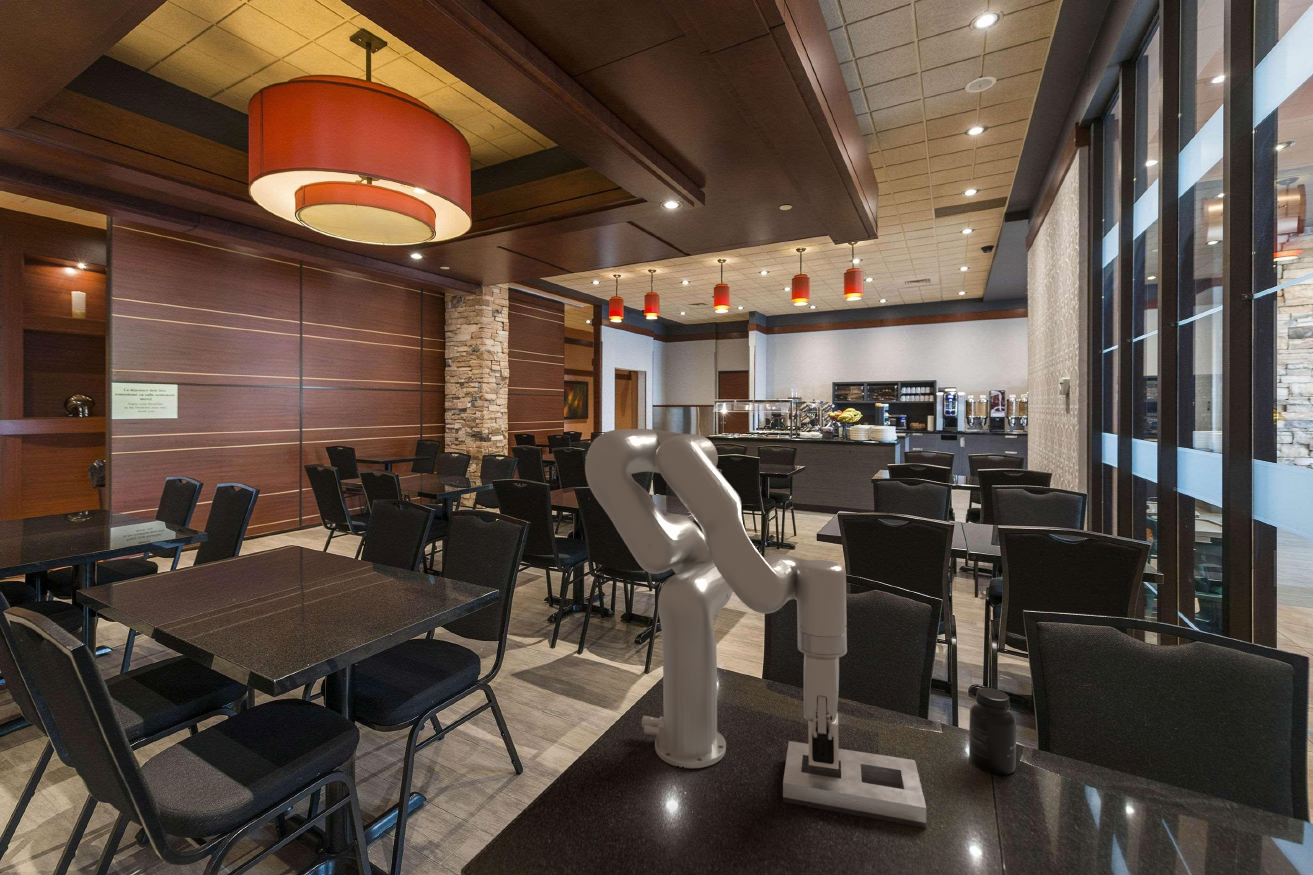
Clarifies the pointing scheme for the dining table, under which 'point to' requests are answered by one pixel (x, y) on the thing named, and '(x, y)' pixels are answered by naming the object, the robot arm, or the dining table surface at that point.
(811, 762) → the plug
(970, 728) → the supplement bottle
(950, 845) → the dining table surface
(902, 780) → the socket board
